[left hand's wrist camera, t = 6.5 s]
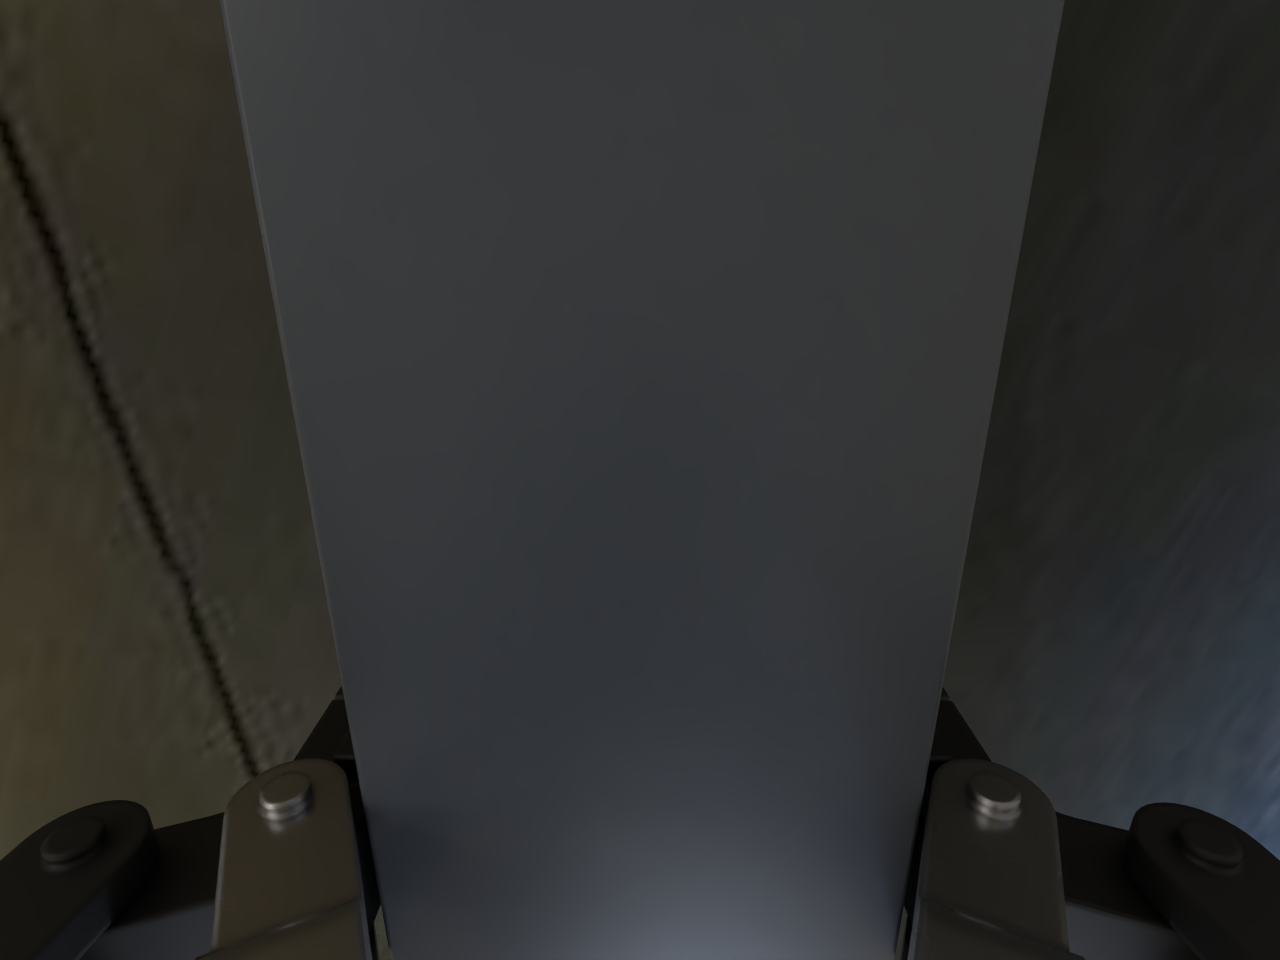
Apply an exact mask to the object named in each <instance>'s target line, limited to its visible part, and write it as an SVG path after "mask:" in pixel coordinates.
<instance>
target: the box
mask: <svg viewBox="0 0 1280 960" xmlns="http://www.w3.org/2000/svg"><path fill="white" fill-rule="evenodd" d="M219 2H220V8H221V13H222V19H223V24H224V30H225V36H226V41H227V47H228V52H229V58H230V63H231V69H232V75H233V80H234V86H235V91H236V97H237V103H238V108H239V114H240V119H241V125H242V130H243V136H244V142H245V147H246V153H247V158H248V164H249V170H250V175H251V181H252V186H253V192H254V198H255V203H256V209H257V214H258V220H259V225H260V231H261V237H262V242H263V248H264V253H265V259H266V265H267V270H268V276H269V281H270V287H271V292H272V298H273V304H274V309H275V315H276V320H277V326H278V332H279V337H280V343H281V348H282V354H283V359H284V365H285V371H286V376H287V382H288V387H289V393H290V399H291V404H292V410H293V415H294V421H295V426H296V432H297V438H298V443H299V449H300V454H301V460H302V466H303V471H304V477H305V482H306V488H307V493H308V499H309V505H310V510H311V516H312V521H313V527H314V533H315V538H316V544H317V549H318V555H319V560H320V566H321V572H322V577H323V583H324V588H325V594H326V600H327V605H328V611H329V616H330V622H331V628H332V633H333V639H334V644H335V650H336V655H337V661H338V667H339V672H340V678H341V683H342V689H343V695H344V700H345V706H346V711H347V717H348V722H349V728H350V734H351V739H352V745H353V750H354V756H355V762H356V767H357V773H358V778H359V784H360V789H361V795H362V801H363V806H364V812H365V817H366V823H367V829H368V834H369V840H370V845H371V851H372V856H373V862H374V868H375V873H376V879H377V884H378V890H379V896H380V901H381V907H382V912H383V918H384V923H385V929H386V935H387V940H388V946H389V951H390V957H391V960H894V957H895V951H896V946H897V940H898V934H899V929H900V923H901V917H902V912H903V906H904V901H905V895H906V889H907V884H908V878H909V873H910V867H911V861H912V856H913V850H914V844H915V839H916V833H917V828H918V822H919V816H920V811H921V805H922V800H923V794H924V788H925V783H926V777H927V771H928V766H929V760H930V755H931V749H932V743H933V738H934V732H935V727H936V721H937V715H938V710H939V704H940V698H941V693H942V687H943V682H944V676H945V670H946V665H947V659H948V653H949V648H950V642H951V637H952V631H953V625H954V620H955V614H956V609H957V603H958V597H959V592H960V586H961V580H962V575H963V569H964V564H965V558H966V552H967V547H968V541H969V536H970V530H971V524H972V519H973V513H974V507H975V502H976V496H977V491H978V485H979V479H980V474H981V468H982V463H983V457H984V451H985V446H986V440H987V434H988V429H989V423H990V418H991V412H992V406H993V401H994V395H995V389H996V384H997V378H998V373H999V367H1000V361H1001V356H1002V350H1003V345H1004V339H1005V333H1006V328H1007V322H1008V316H1009V311H1010V305H1011V300H1012V294H1013V288H1014V283H1015V277H1016V272H1017V266H1018V260H1019V255H1020V249H1021V243H1022V238H1023V232H1024V227H1025V221H1026V215H1027V210H1028V204H1029V199H1030V193H1031V187H1032V182H1033V176H1034V170H1035V165H1036V159H1037V154H1038V148H1039V142H1040V137H1041V131H1042V125H1043V120H1044V114H1045V109H1046V103H1047V97H1048V92H1049V86H1050V81H1051V75H1052V69H1053V64H1054V58H1055V52H1056V47H1057V41H1058V36H1059V30H1060V24H1061V19H1062V13H1063V8H1064V2H1065V0H219Z"/></svg>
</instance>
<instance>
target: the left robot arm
mask: <svg viewBox="0 0 1280 960" xmlns="http://www.w3.org/2000/svg"><path fill="white" fill-rule="evenodd" d="M380 905H381V901H380V896H379V890H378V884H377V879H376V873H375V868H374V862H373V856H372V851H371V845H370V840H369V834H368V829H367V823H366V817H365V812H364V806H363V801H362V795H361V789H360V784H359V778H358V773H357V767H356V762H355V756H354V750H353V745H352V739H351V734H350V728H349V722H348V717H347V711H346V706H345V700H344V695H343V689H342V686H341V688H340V689H339V691H338V692H337V694H336V698H335V700H332V702H331V703H330V705H329V706H328V708H327V709H326V711H325V713H324V714H323V716H322V717H321V719H320V720H319V722H318V723H317V725H316V726H315V728H314V730H313V731H312V733H311V734H310V736H309V737H308V739H307V740H306V742H305V744H304V745H303V747H302V748H301V750H300V751H299V753H298V754H297V756H296V757H295V759H294V761H290V762H286V763H283V764H280V765H277V766H275V767H273V768H271V769H268V770H266V771H264V772H263V773H261V774H259V775H257V776H256V777H254V778H253V779H252V780H250V781H249V782H247V783H246V784H245V785H244V786H243V787H242V788H241V789H240V790H239V791H238V792H237V793H236V794H235V795H234V796H233V798H232V799H231V801H230V802H229V804H228V806H227V808H226V810H225V812H223V813H220V814H216V815H213V816H209V817H205V818H201V819H196V820H192V821H188V822H184V823H180V824H176V825H172V826H167V827H163V828H159V829H155V830H154V828H153V825H152V822H151V819H150V816H149V813H148V811H147V809H145V808H144V807H143V806H142V805H140V804H138V803H136V802H132V801H127V800H114V801H105V802H100V803H95V804H92V805H88V806H85V807H82V808H79V809H77V810H74V811H71V812H69V813H67V814H65V815H63V816H61V817H59V818H57V819H55V820H53V821H51V822H50V823H48V824H46V825H44V826H43V827H41V828H40V829H38V830H37V831H35V832H34V833H33V834H31V835H30V836H29V837H28V838H26V839H25V840H24V841H23V842H21V843H20V844H19V845H18V846H17V847H16V848H14V849H13V850H12V851H11V852H10V853H9V854H7V855H6V856H5V857H4V858H3V859H2V860H0V960H380V959H379V952H378V945H377V937H376V931H375V926H374V921H375V918H376V915H377V913H378V910H379V907H380ZM904 906H905V909H906V911H907V914H908V915H907V920H906V926H905V931H904V937H903V945H902V952H901V959H900V960H1280V860H1278V859H1277V858H1276V857H1275V856H1274V855H1273V854H1271V853H1270V852H1269V851H1268V850H1267V849H1266V848H1264V847H1263V846H1262V845H1261V844H1260V843H1258V842H1257V841H1256V840H1255V839H1253V838H1252V837H1251V836H1250V835H1248V834H1247V833H1245V832H1244V831H1242V830H1241V829H1239V828H1238V827H1236V826H1234V825H1232V824H1231V823H1229V822H1227V821H1225V820H1223V819H1221V818H1219V817H1217V816H1215V815H1213V814H1210V813H1208V812H1205V811H1202V810H1200V809H1196V808H1193V807H1189V806H1186V805H1180V804H1175V803H1153V804H1148V805H1145V806H1143V807H1141V808H1140V809H1139V810H1138V811H1137V812H1136V813H1135V815H1134V817H1133V820H1132V823H1131V826H1130V829H1129V831H1128V830H1124V829H1119V828H1115V827H1111V826H1107V825H1103V824H1099V823H1094V822H1090V821H1086V820H1082V819H1078V818H1074V817H1070V816H1067V815H1064V814H1061V813H1058V812H1055V810H1054V808H1053V806H1052V804H1051V802H1050V801H1049V799H1048V798H1047V796H1046V795H1045V794H1044V793H1043V792H1042V791H1041V790H1040V789H1039V788H1038V787H1037V786H1036V785H1035V784H1034V783H1033V782H1031V781H1030V780H1028V779H1027V778H1026V777H1024V776H1023V775H1021V774H1019V773H1017V772H1016V771H1014V770H1012V769H1009V768H1007V767H1005V766H1003V765H1000V764H997V763H994V762H991V760H990V758H989V757H988V755H987V754H986V752H985V751H984V749H983V748H982V746H981V745H980V743H979V742H978V740H977V739H976V737H975V736H974V734H973V732H972V731H971V729H970V728H969V726H968V725H967V723H966V722H965V720H964V719H963V717H962V716H961V714H960V713H959V711H958V710H957V708H956V707H955V705H954V703H953V702H952V701H949V696H948V694H947V693H946V691H945V690H944V688H943V687H942V693H941V698H940V704H939V710H938V715H937V721H936V727H935V732H934V738H933V743H932V749H931V755H930V760H929V766H928V771H927V777H926V783H925V788H924V794H923V800H922V805H921V811H920V816H919V822H918V828H917V833H916V839H915V844H914V850H913V856H912V861H911V867H910V873H909V878H908V884H907V889H906V895H905V901H904Z"/></svg>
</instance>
